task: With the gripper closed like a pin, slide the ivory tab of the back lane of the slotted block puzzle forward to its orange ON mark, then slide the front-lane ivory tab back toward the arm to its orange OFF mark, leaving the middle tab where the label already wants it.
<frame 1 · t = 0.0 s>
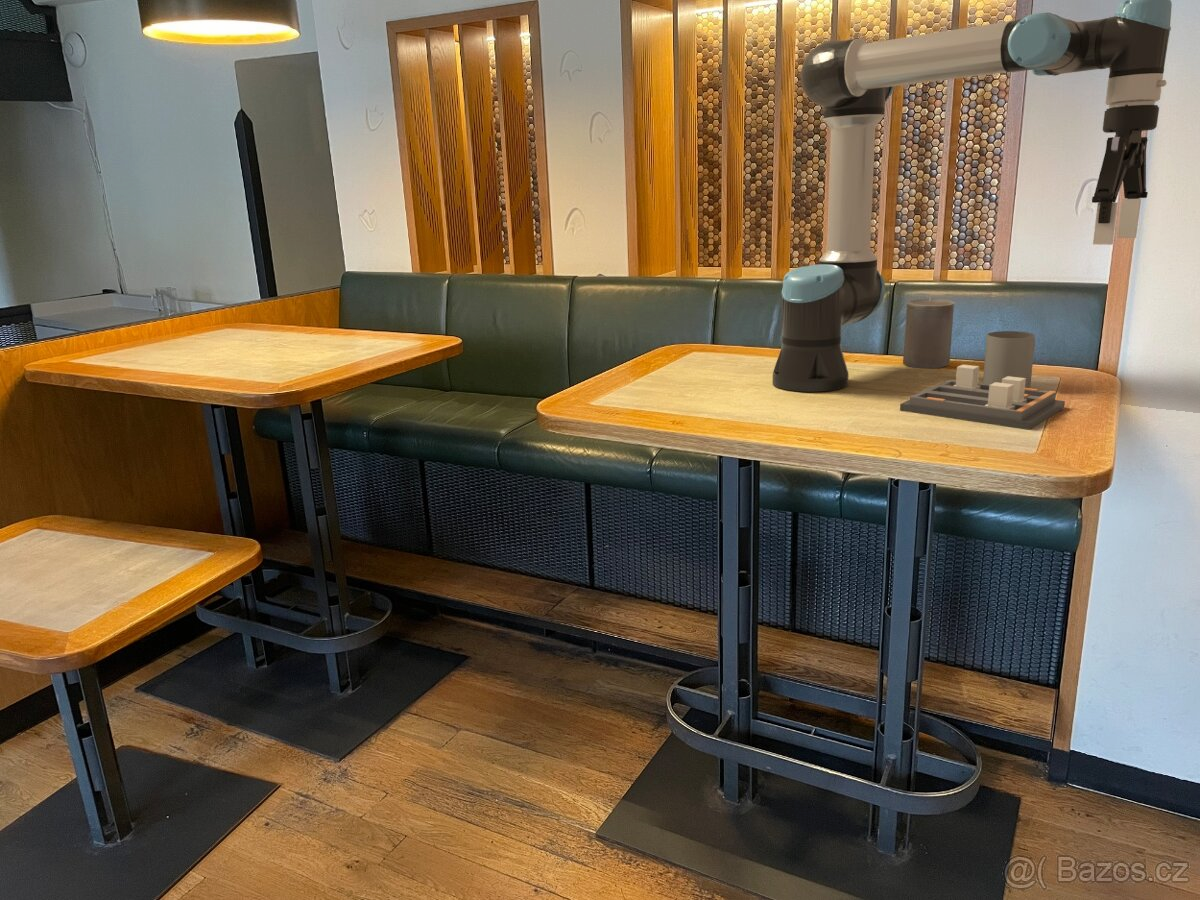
hand: (1114, 241, 145), 28 cm above the table, fingers open, 13 cm apart
tab back: (967, 379, 159), point 4 cm above the table, slide at -5.0 cm
slotted block puzzle: (981, 409, 153), on the table
tab mid: (1012, 392, 148), point 4 cm above the table, slide at 5.0 cm
pillar candle: (926, 365, 190), on the table
cup: (1006, 386, 168), on the table
tab front: (1000, 398, 144), point 4 cm above the table, slide at 5.0 cm
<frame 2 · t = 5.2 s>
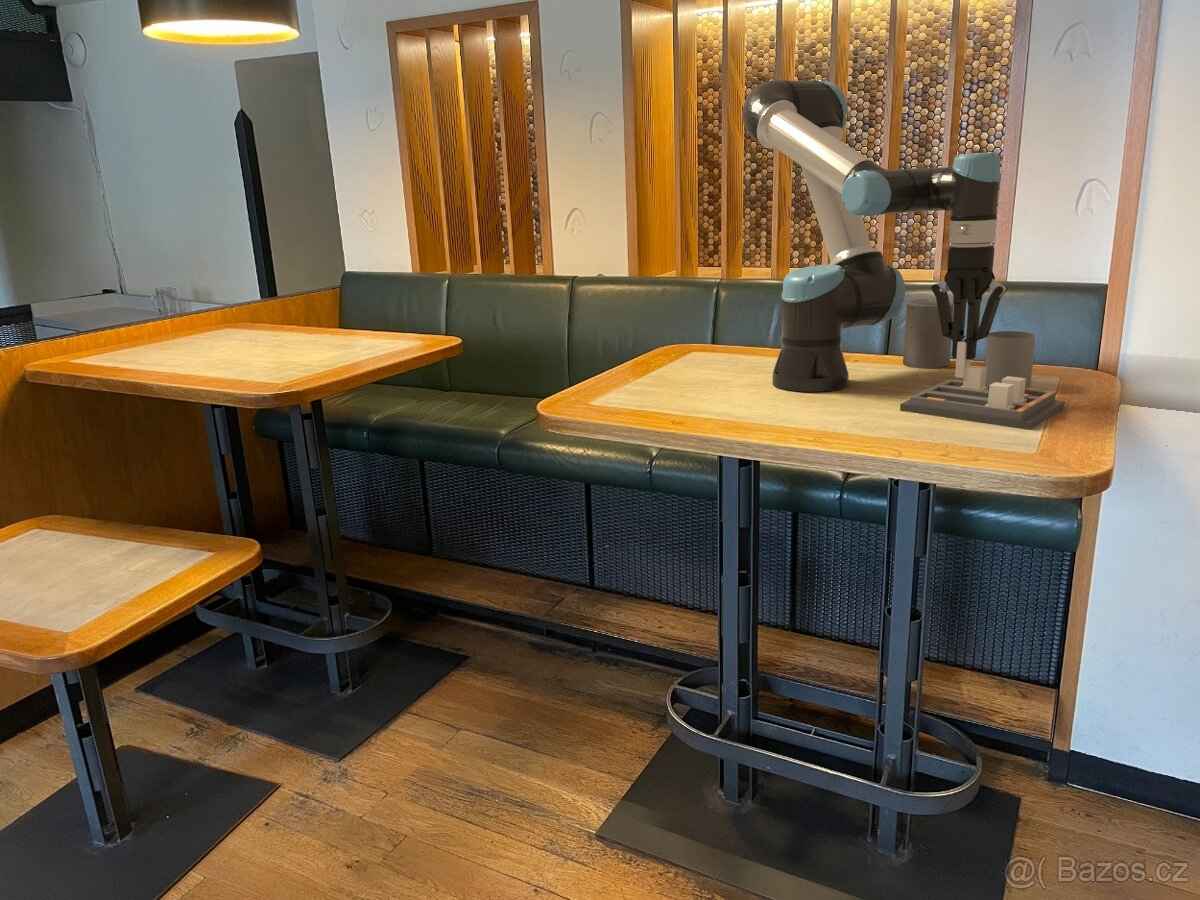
hand: (962, 376, 159), 4 cm above the table, fingers closed
tab back: (974, 380, 158), point 4 cm above the table, slide at -3.6 cm, touching gripper
everything else where it was.
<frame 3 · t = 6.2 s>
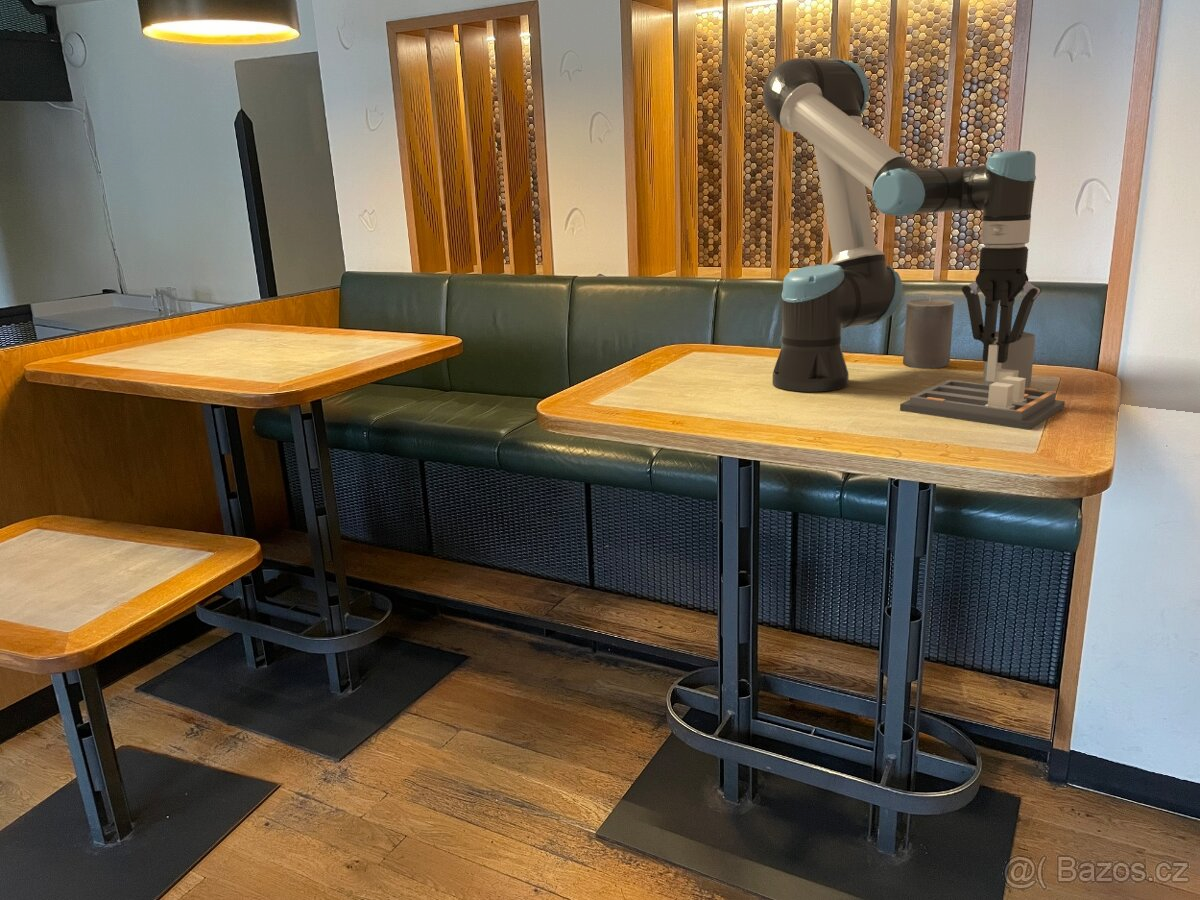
hand: (993, 379, 155), 4 cm above the table, fingers closed
tab back: (1005, 384, 154), point 4 cm above the table, slide at 1.9 cm, touching gripper
everything else where it was.
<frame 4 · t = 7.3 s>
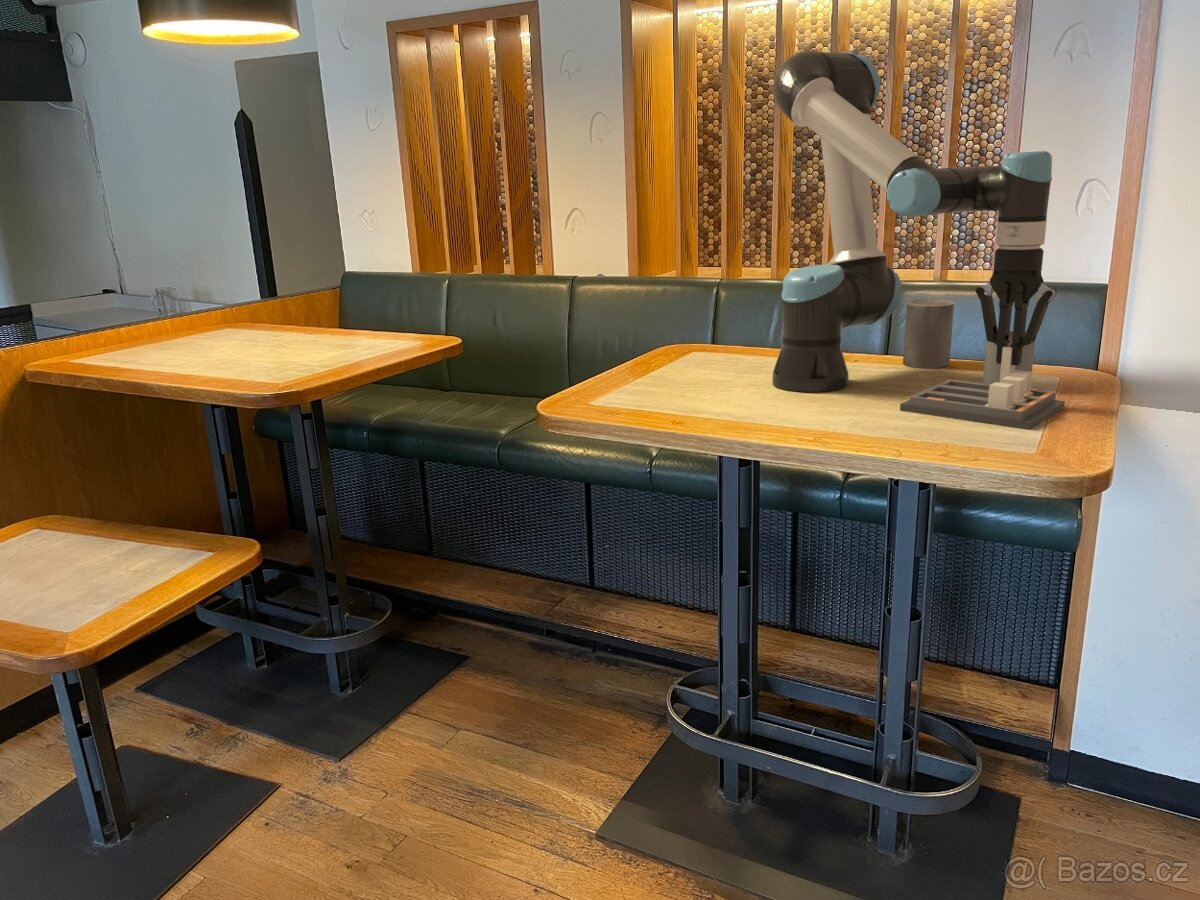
hand: (1006, 382, 154), 4 cm above the table, fingers closed
tab back: (1019, 385, 152), point 4 cm above the table, slide at 4.2 cm, touching gripper
everything else where it was.
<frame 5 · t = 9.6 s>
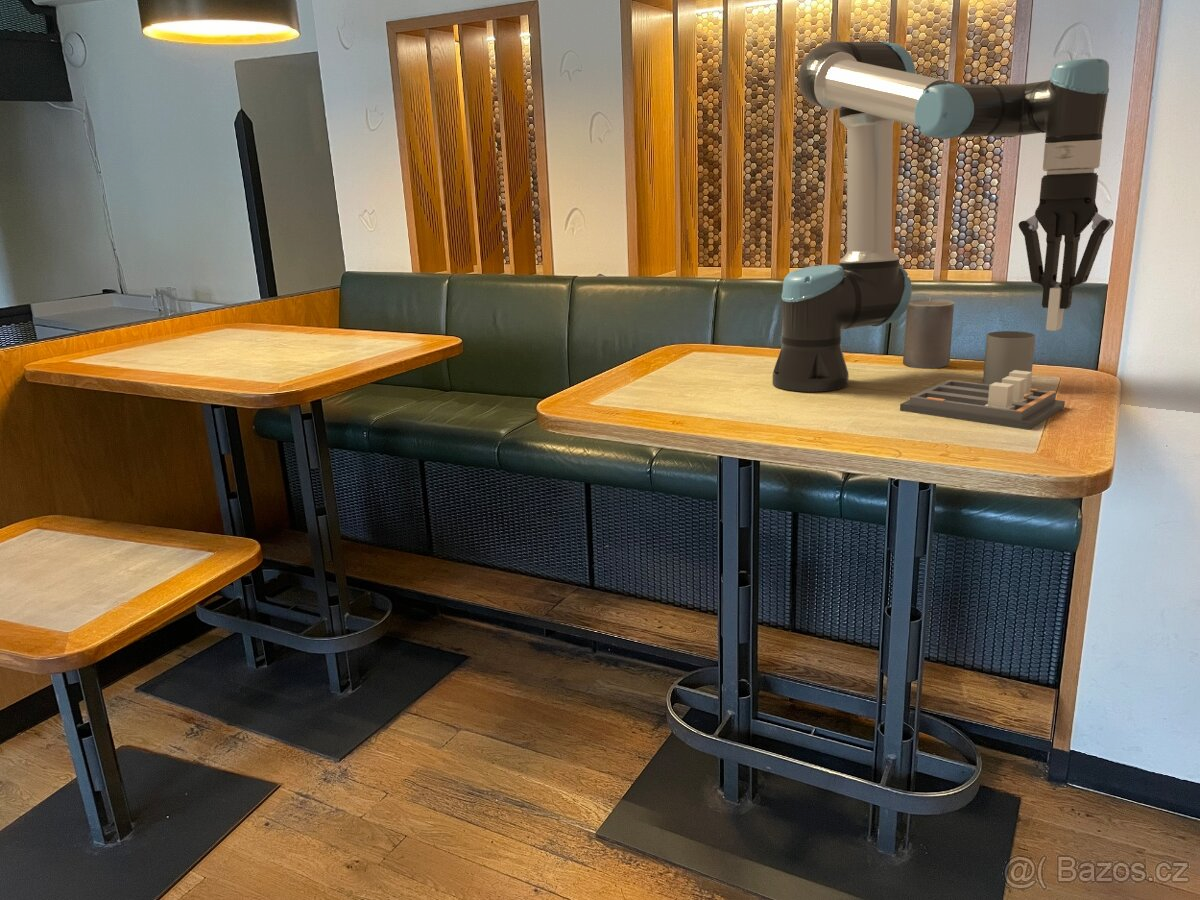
hand: (1053, 329, 136), 16 cm above the table, fingers closed
tab back: (1019, 385, 152), point 4 cm above the table, slide at 4.2 cm
everything else where it was.
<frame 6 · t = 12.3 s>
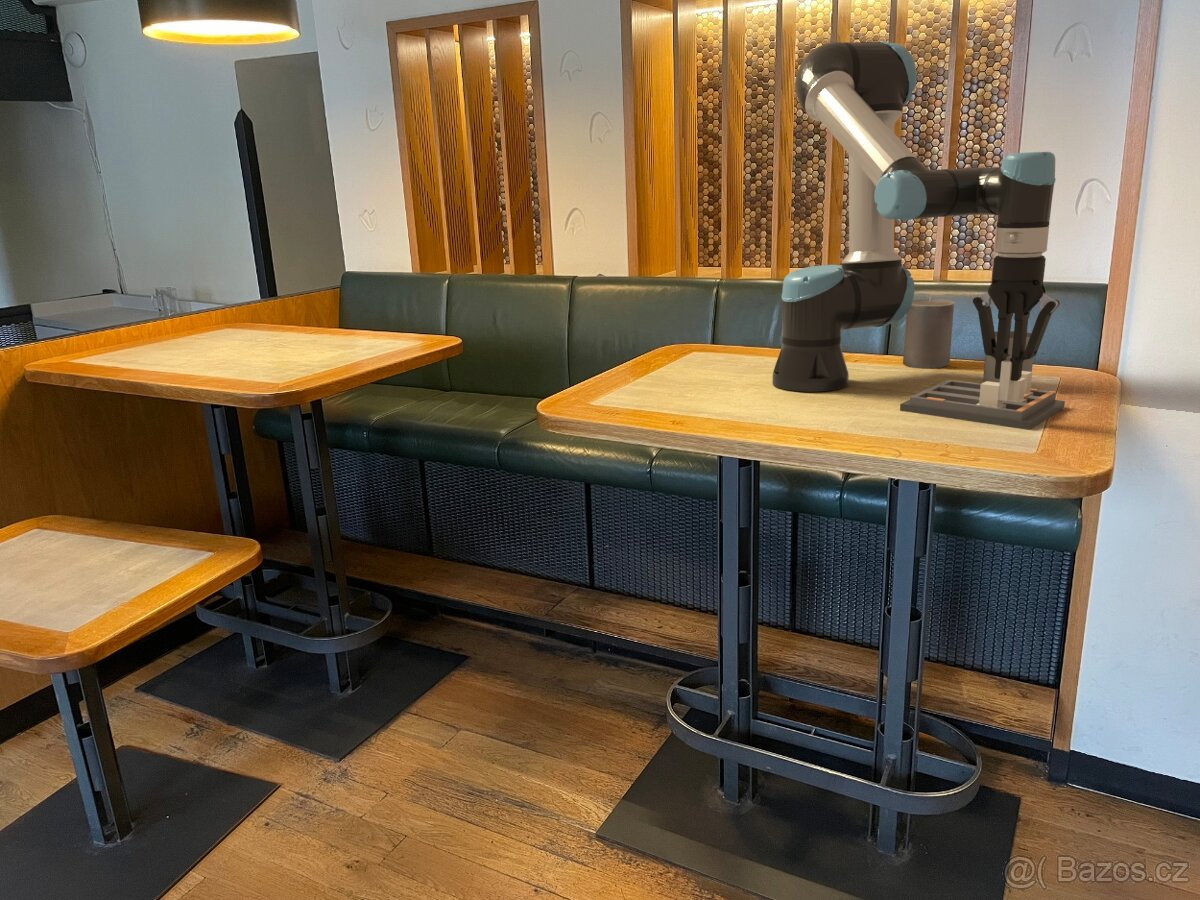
hand: (1005, 398, 144), 4 cm above the table, fingers closed
tab front: (991, 397, 145), point 4 cm above the table, slide at 3.6 cm, touching gripper
everything else where it was.
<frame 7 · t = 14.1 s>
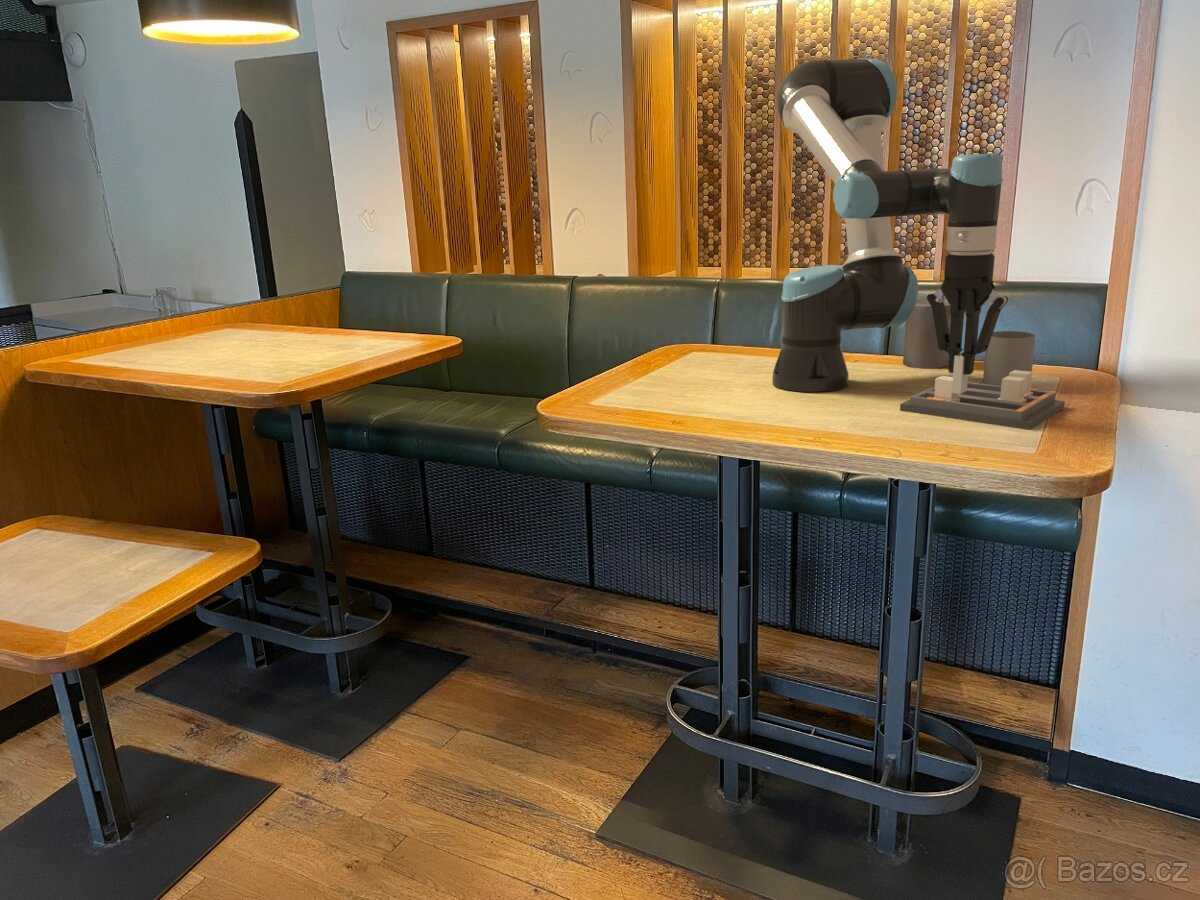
hand: (959, 391, 149), 4 cm above the table, fingers closed
tab front: (946, 391, 151), point 4 cm above the table, slide at -4.2 cm, touching gripper
everything else where it was.
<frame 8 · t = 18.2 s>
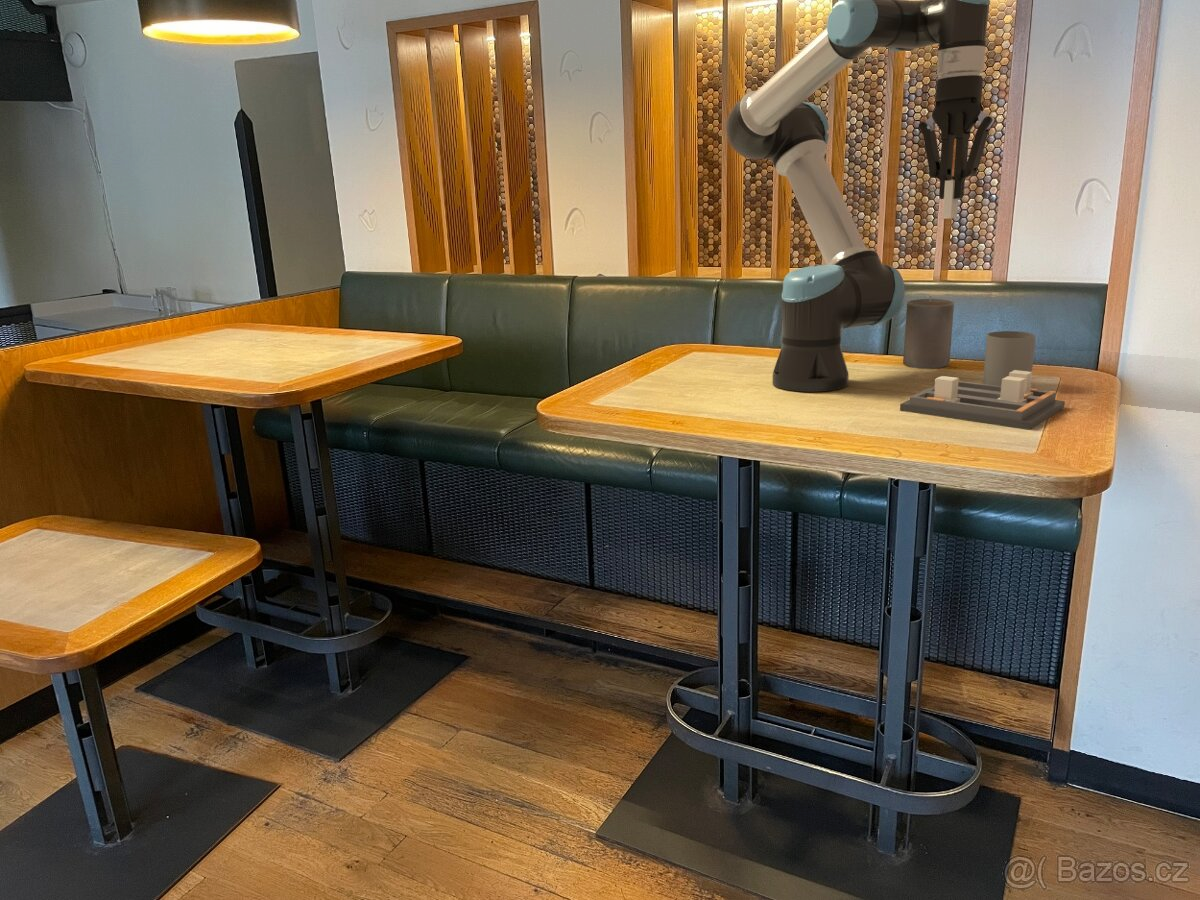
hand: (949, 218, 155), 32 cm above the table, fingers closed
tab front: (946, 391, 151), point 4 cm above the table, slide at -4.2 cm
everything else where it was.
at the end: tab back slide at 4.2 cm; tab front slide at -4.2 cm; tab mid slide at 5.0 cm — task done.
